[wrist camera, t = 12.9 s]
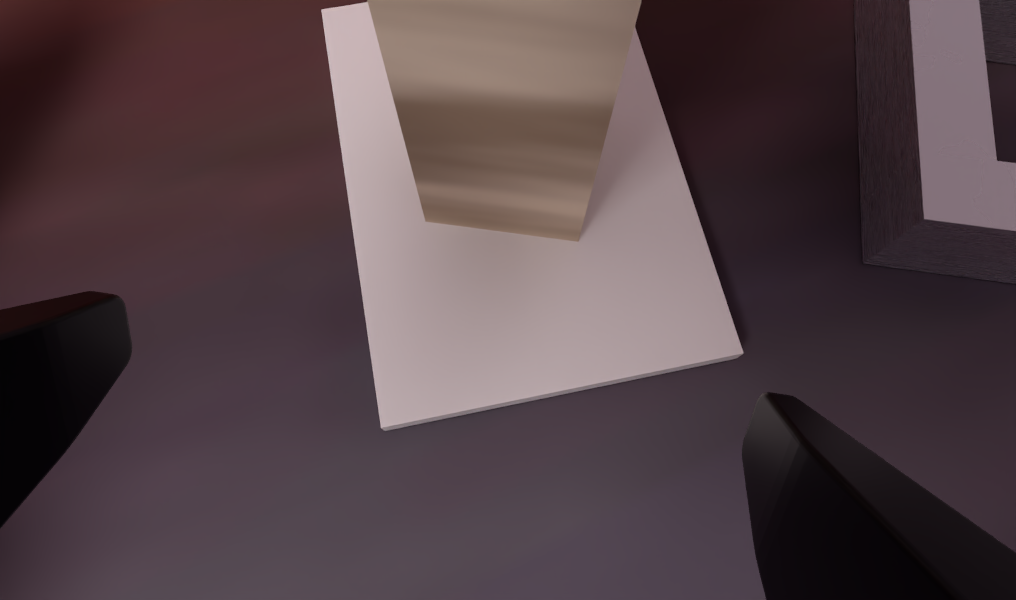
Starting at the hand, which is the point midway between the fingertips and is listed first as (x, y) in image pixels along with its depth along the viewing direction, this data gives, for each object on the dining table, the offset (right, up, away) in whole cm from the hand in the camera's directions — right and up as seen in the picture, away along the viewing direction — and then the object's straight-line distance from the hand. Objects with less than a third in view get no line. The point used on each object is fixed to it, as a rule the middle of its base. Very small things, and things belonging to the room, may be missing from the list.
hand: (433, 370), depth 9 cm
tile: (+1, +5, +11) cm, 12 cm away
